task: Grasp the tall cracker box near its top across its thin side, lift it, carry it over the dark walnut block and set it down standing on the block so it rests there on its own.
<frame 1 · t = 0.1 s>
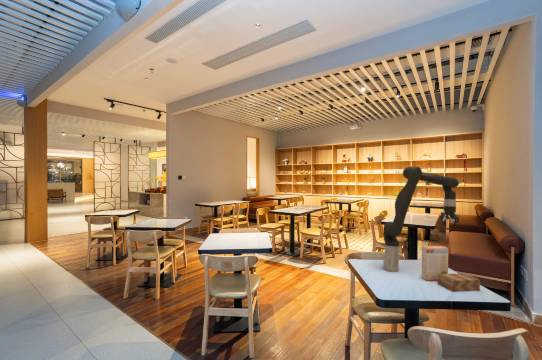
hand: (449, 227, 198), 29 cm above the table, fingers open, 8 cm apart
walnut block: (458, 287, 162), on the table
cracker box: (434, 279, 174), on the table
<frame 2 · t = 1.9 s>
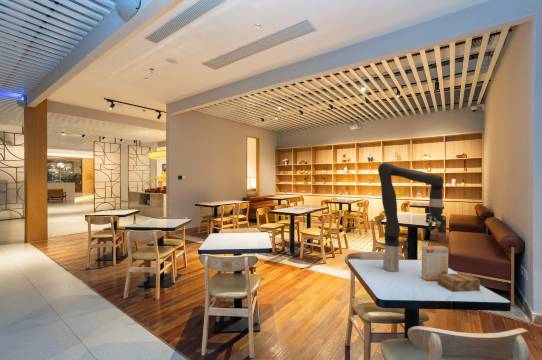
hand: (435, 231, 174), 31 cm above the table, fingers open, 8 cm apart
nothing on the table moved.
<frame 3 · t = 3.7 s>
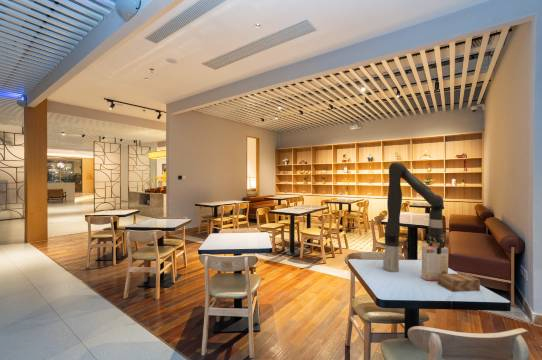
hand: (434, 252, 174), 17 cm above the table, fingers closed on cracker box, 6 cm apart
cracker box: (434, 279, 174), on the table, touching gripper
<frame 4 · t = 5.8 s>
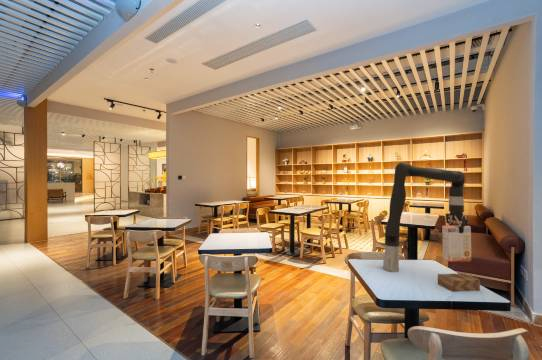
hand: (456, 231, 163), 32 cm above the table, fingers closed on cracker box, 6 cm apart
cracker box: (456, 260, 163), point 15 cm above the table, touching gripper
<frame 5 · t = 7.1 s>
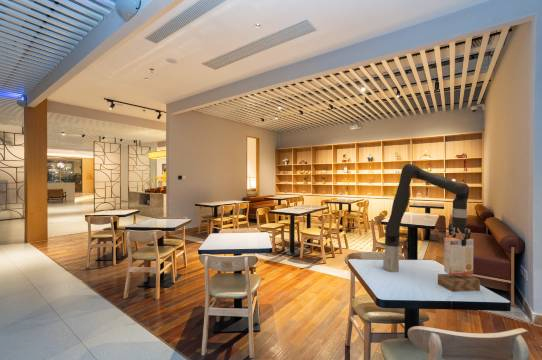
hand: (458, 244, 162), 25 cm above the table, fingers closed on cracker box, 6 cm apart
cracker box: (458, 273, 162), point 8 cm above the table, touching gripper
when the fingers open (24 cm above the table, at t = 7.9 s): cracker box stays where it is, resting on walnut block.
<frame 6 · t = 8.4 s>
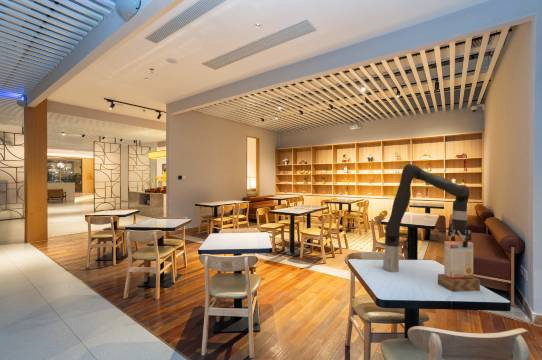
hand: (459, 245, 162), 25 cm above the table, fingers open, 8 cm apart
cracker box: (458, 277, 162), point 6 cm above the table, touching walnut block
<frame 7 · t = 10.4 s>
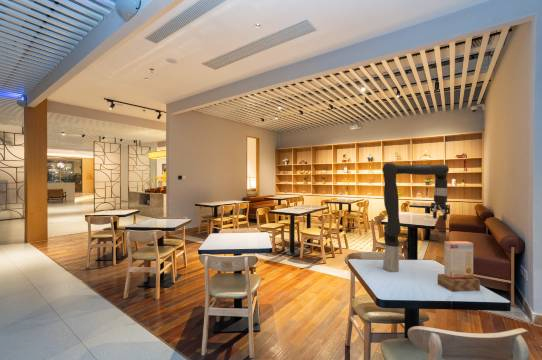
hand: (439, 219, 179), 38 cm above the table, fingers open, 8 cm apart
nothing on the table moved.
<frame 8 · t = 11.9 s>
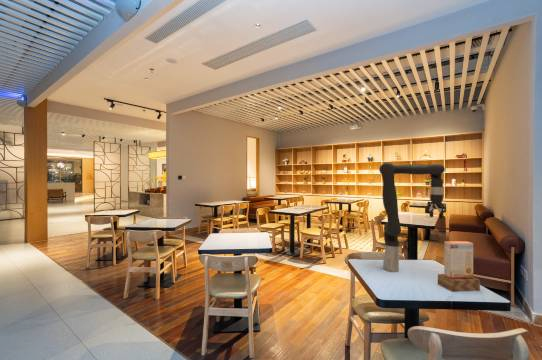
hand: (436, 217, 183), 38 cm above the table, fingers open, 8 cm apart
nothing on the table moved.
at the end: cracker box inside the target area on the walnut block (0.1 cm from its centre), point 5.8 cm above the walnut block's base; cracker box tilted 0°; cracker box touching walnut block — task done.
